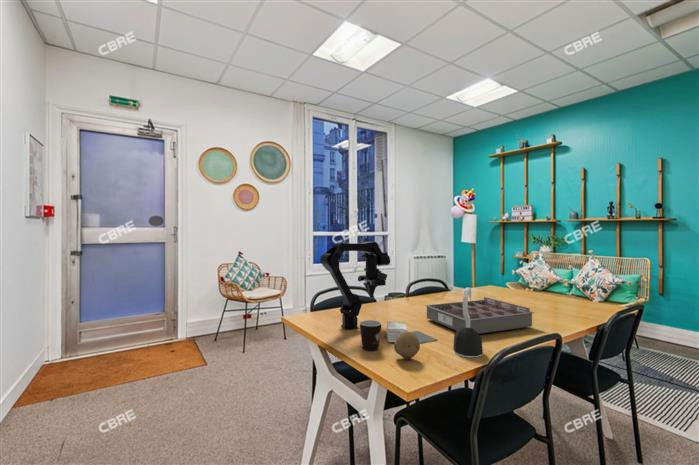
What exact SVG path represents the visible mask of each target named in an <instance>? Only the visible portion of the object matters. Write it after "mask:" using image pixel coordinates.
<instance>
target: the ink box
mask: <svg viewBox="0 0 699 465" xmlns="http://www.w3.org/2000/svg"><path fill="white" fill-rule="evenodd" d="M403 332H408V327H407V324H406V322H405V321H386V336H387V338H386V339H387V342H388V343H395V342H396V340H397V338H398V337H399V335H400V334H401V333H403Z"/></svg>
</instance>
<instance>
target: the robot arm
mask: <svg viewBox="0 0 699 465" xmlns="http://www.w3.org/2000/svg"><path fill="white" fill-rule="evenodd" d="M344 251H345V252H351V251H352V252H362V253H364V254H363V255H362V256H361V258H362V259H363V258H364V259H365V268H364V267H363V270H364V271H365V274H362V275H359V276H357V281H358V282H360V283H361V282H363V281H364V282H363V283H362V284H363V286H364V288H365V290H366V292H367V294H368V296H369V298H371V299H372V298H374V294H375V291H376V288H377V287H382V286H386V285H387V284H386V283H387V282H386V281H387V277H388V274H387V273H384V272H382V271H381V270H380V269H379V268H378V267H381V266H389V265H390V263H391V257H390V256H389V255H388V252H385V251H382V250H381V248H380V245H379V244H378V241H363V242H359V243H354V242H353V243H352V242H351V243H349V242H347V243H346V242H336V243H335V244H334V245H333V246H332V247H330V248H329V249H328V250H326V252H325V253H323V254H321V256H320V258H319V262H320V264H321V265H322V266H323V267H324V269H326V270H327V271H328V272H329V273H330V275H331V278H332V279H333V280H334V282H335V284H336V286H337V289H338V290H339V291H340V294H341V295H342V303H343V305H342V306H341V307H340V309H339V312H340V314H342V315H341V316H342V318H341V320H342V321H341V322H342V323H341V324H340V327H341V328H343V330H354V329H355V330H356V329H359V326H358V323H359V322H358V320H359V318H358V316H359V315H360V313H361V311H360V310H361V309H362V306H363V305H362V300H361V299H360V296H359V294H356V293H353V292H352V290H351V288H350V286H349V285H348V282H347V281H346V279H345V276H343V273H342V271H341V269H340V262H339V260H340V259H341V257H342V255H343V253H344Z"/></svg>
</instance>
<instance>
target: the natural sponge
mask: <svg viewBox="0 0 699 465" xmlns="http://www.w3.org/2000/svg"><path fill="white" fill-rule="evenodd" d="M411 332H412V331H407V332H403V333H401V334H400V335H399V337H398V338H397V340H396V342H394V345H393V348H394V351H395V353H397V355H399V356H400V357H401V358H403V359H405V360H410V359H412V358H414V357H415V356H416V355H417V354H418V352H419V351H420V349H421V348H420V347H421V343H419V340H418V338H417V336H416V335H415V334H413V333H411Z"/></svg>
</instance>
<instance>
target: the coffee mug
mask: <svg viewBox="0 0 699 465" xmlns="http://www.w3.org/2000/svg"><path fill="white" fill-rule="evenodd" d="M359 329H360V330H359V331H360V337H361V340H360V341H361V346H362V347H361V348H362V350H363V351H366V352H376V351H378V350H379V346H380V338H381V331H382V322H381V321H379V320H372V319H366V320H362V321H360V322H359Z"/></svg>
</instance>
